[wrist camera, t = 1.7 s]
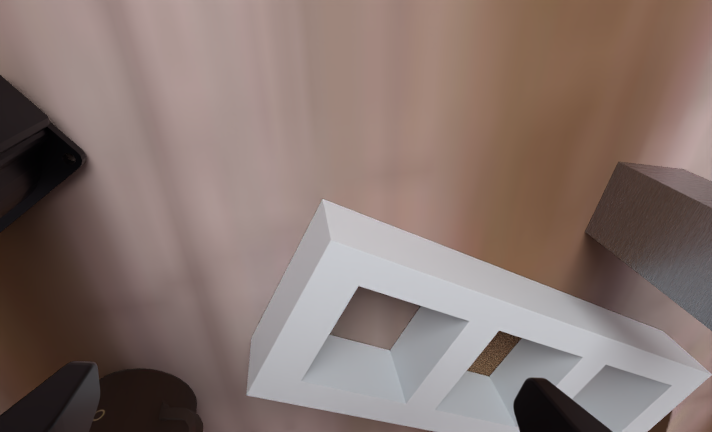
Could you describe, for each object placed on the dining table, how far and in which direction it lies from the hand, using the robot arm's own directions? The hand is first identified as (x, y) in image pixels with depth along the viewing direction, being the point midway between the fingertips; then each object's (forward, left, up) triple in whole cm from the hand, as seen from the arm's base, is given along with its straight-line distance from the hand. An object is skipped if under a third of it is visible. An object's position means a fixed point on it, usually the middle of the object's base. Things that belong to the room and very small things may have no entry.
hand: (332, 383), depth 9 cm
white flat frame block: (+2, -17, -13) cm, 21 cm away
